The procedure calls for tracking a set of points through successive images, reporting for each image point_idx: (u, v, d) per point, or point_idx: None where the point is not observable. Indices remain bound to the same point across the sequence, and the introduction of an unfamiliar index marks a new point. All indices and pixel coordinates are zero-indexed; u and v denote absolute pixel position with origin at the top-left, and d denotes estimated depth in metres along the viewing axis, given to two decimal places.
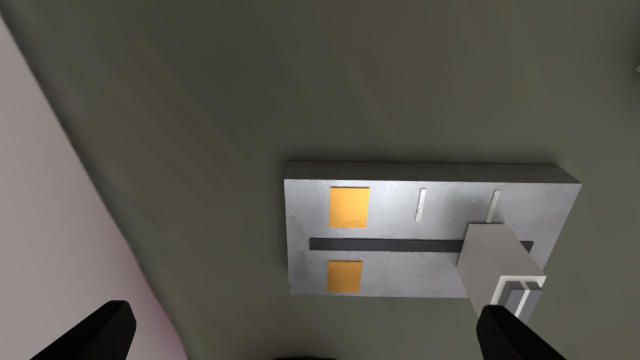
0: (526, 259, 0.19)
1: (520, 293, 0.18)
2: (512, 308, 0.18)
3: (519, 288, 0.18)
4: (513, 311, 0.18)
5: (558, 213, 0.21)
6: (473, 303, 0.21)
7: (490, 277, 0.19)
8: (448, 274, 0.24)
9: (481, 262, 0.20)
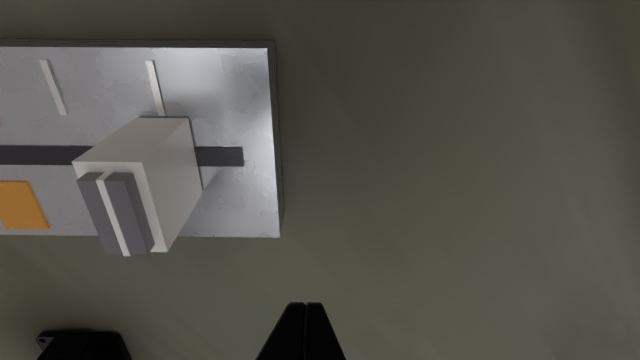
0: (145, 147, 0.13)
1: (94, 187, 0.11)
2: (102, 215, 0.12)
3: (93, 179, 0.11)
4: (108, 220, 0.12)
5: (255, 100, 0.15)
6: None
7: None
8: None
9: None
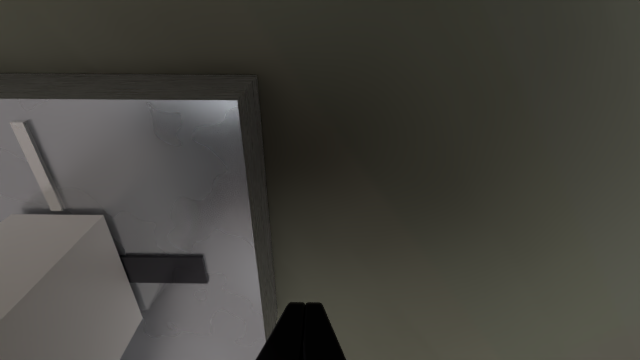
0: None
1: None
2: None
3: None
4: None
5: (221, 186, 0.08)
6: None
7: None
8: None
9: None
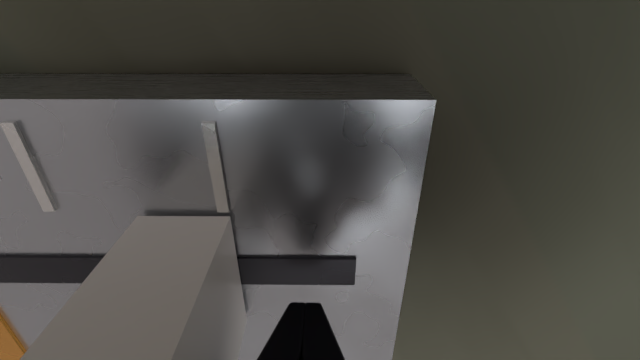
0: (160, 326, 0.06)
1: None
2: None
3: None
4: None
5: (394, 187, 0.08)
6: None
7: None
8: None
9: None
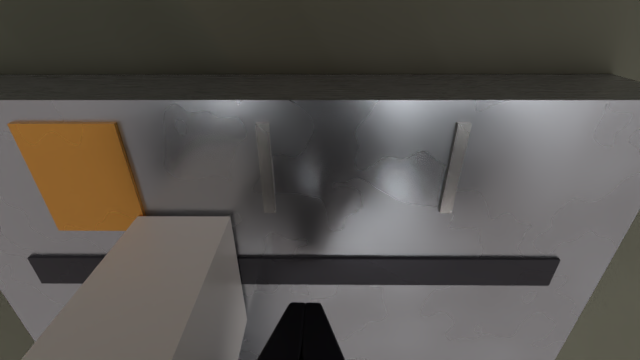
0: (160, 325, 0.06)
1: None
2: None
3: None
4: None
5: (625, 187, 0.08)
6: None
7: None
8: (371, 328, 0.11)
9: None
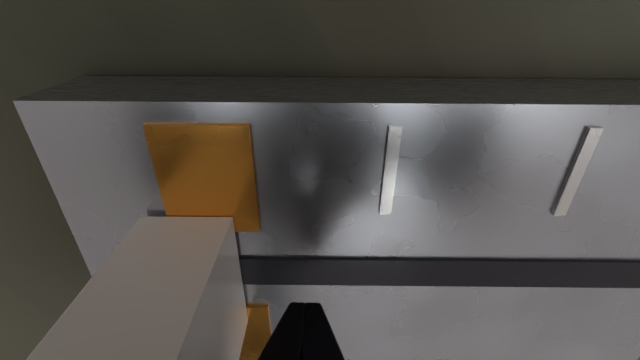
0: (165, 324, 0.06)
1: None
2: None
3: None
4: None
5: None
6: None
7: None
8: (460, 330, 0.11)
9: None
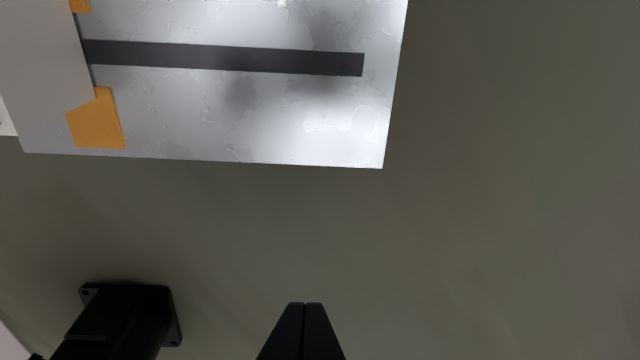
0: None
1: None
2: None
3: None
4: None
5: None
6: None
7: None
8: (250, 117, 0.16)
9: None
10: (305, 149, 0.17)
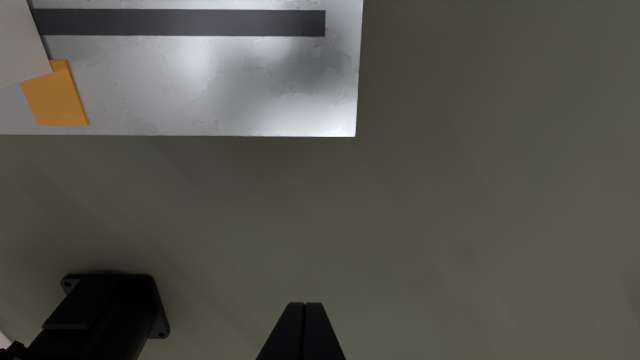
0: None
1: None
2: None
3: None
4: None
5: None
6: None
7: None
8: (213, 86, 0.15)
9: None
10: (273, 119, 0.16)
